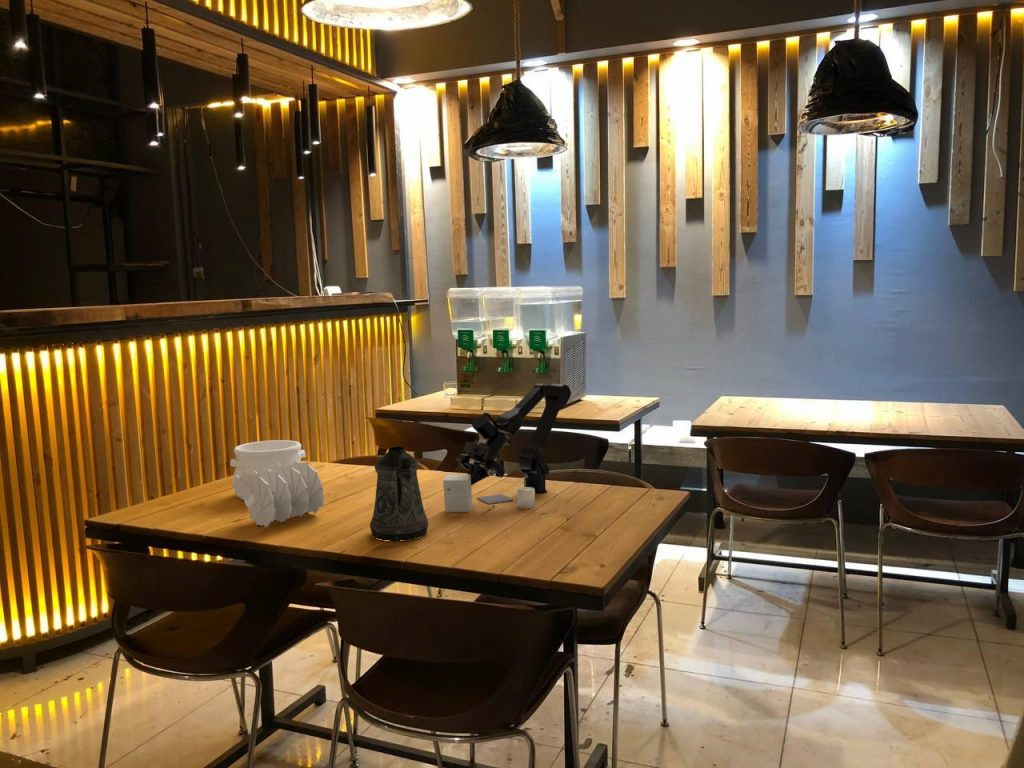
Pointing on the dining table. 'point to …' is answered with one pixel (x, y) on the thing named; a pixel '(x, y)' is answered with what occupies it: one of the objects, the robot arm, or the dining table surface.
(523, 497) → the espresso cup
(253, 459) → the pot
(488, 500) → the slate coaster
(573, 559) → the dining table surface
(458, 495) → the small box
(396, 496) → the beer stein
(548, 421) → the robot arm
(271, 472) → the spiral staircase
